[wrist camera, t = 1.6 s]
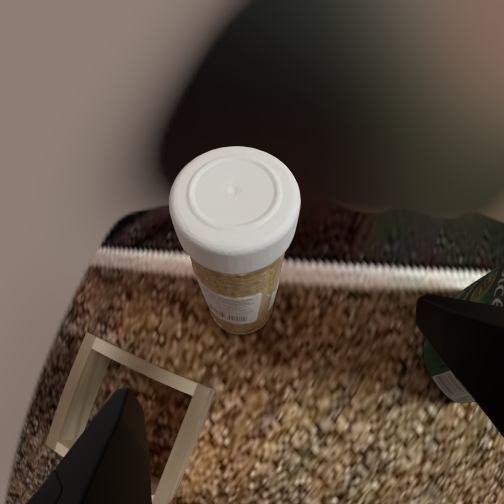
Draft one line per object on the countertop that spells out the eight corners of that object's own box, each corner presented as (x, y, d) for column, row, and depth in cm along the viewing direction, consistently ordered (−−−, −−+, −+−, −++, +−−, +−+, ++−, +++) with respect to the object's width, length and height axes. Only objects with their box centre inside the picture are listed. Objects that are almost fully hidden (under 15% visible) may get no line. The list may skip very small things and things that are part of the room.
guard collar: (216, 389, 20) (210, 388, 17) (175, 495, 16) (162, 511, 13) (107, 342, 21) (86, 331, 18) (70, 440, 18) (45, 444, 14)
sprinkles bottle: (285, 300, 23) (328, 183, 11) (244, 349, 21) (242, 281, 9) (236, 263, 24) (228, 124, 12) (194, 308, 22) (139, 198, 10)
